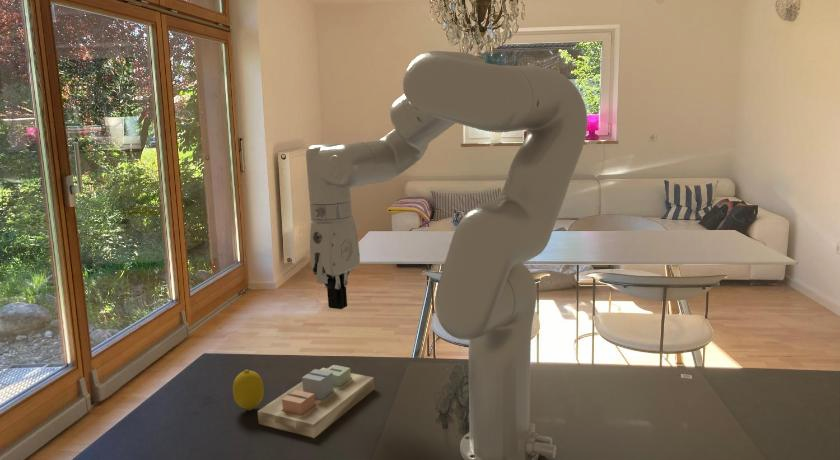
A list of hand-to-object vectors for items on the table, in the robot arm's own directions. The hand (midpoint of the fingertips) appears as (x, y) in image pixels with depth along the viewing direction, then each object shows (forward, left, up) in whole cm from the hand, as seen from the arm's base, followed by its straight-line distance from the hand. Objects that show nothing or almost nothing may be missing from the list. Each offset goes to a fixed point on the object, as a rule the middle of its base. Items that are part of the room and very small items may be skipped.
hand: (337, 307), depth 121 cm
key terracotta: (+1, +12, -17) cm, 21 cm away
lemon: (+12, +12, -18) cm, 25 cm away
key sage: (+1, 0, -17) cm, 17 cm away
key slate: (+1, +6, -16) cm, 17 cm away
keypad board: (+1, +6, -18) cm, 19 cm away
